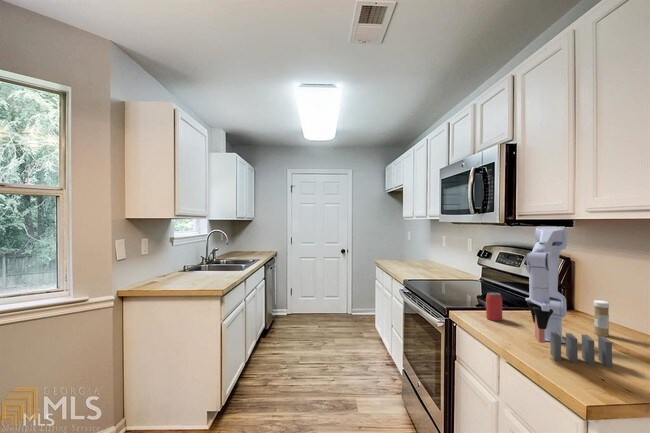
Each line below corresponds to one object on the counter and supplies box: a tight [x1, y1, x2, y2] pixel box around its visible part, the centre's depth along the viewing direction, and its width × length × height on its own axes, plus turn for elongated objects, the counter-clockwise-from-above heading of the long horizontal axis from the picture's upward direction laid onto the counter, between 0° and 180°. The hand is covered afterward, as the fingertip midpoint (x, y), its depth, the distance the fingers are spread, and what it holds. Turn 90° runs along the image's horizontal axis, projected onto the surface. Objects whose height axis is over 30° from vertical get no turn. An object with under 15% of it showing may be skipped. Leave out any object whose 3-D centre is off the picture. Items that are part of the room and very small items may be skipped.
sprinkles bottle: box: [593, 299, 610, 338], centre depth 124 cm, size 5×5×13 cm
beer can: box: [485, 291, 503, 322], centre depth 144 cm, size 7×7×12 cm
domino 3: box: [581, 334, 596, 366], centre depth 103 cm, size 2×5×8 cm, turn 160°
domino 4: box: [597, 335, 613, 368], centre depth 101 cm, size 2×5×8 cm, turn 160°
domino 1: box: [549, 331, 562, 362], centre depth 106 cm, size 2×5×8 cm, turn 159°
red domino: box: [534, 315, 546, 344], centre depth 107 cm, size 2×5×8 cm, turn 160°
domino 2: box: [565, 332, 579, 364], centre depth 104 cm, size 2×5×8 cm, turn 159°
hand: (539, 325), depth 107 cm, fingers closed on red domino, 5 cm apart
